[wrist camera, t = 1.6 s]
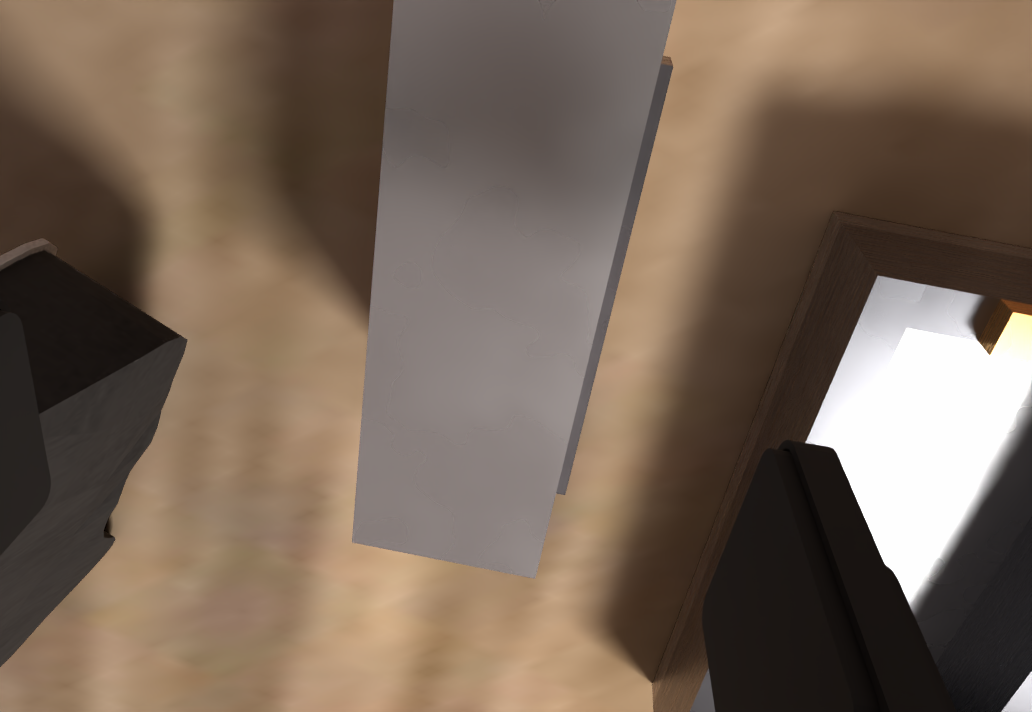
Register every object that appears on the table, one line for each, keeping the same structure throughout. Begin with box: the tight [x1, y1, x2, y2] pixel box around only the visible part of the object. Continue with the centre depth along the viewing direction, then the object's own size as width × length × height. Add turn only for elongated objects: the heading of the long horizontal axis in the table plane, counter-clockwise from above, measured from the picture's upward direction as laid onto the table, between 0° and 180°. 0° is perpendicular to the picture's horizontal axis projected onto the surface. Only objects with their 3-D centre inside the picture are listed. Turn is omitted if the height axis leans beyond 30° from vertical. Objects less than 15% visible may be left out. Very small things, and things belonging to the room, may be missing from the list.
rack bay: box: [652, 211, 1032, 712], centre depth 22 cm, size 9×18×4 cm, turn 171°
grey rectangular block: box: [352, 0, 676, 579], centre depth 17 cm, size 4×12×7 cm, turn 171°
